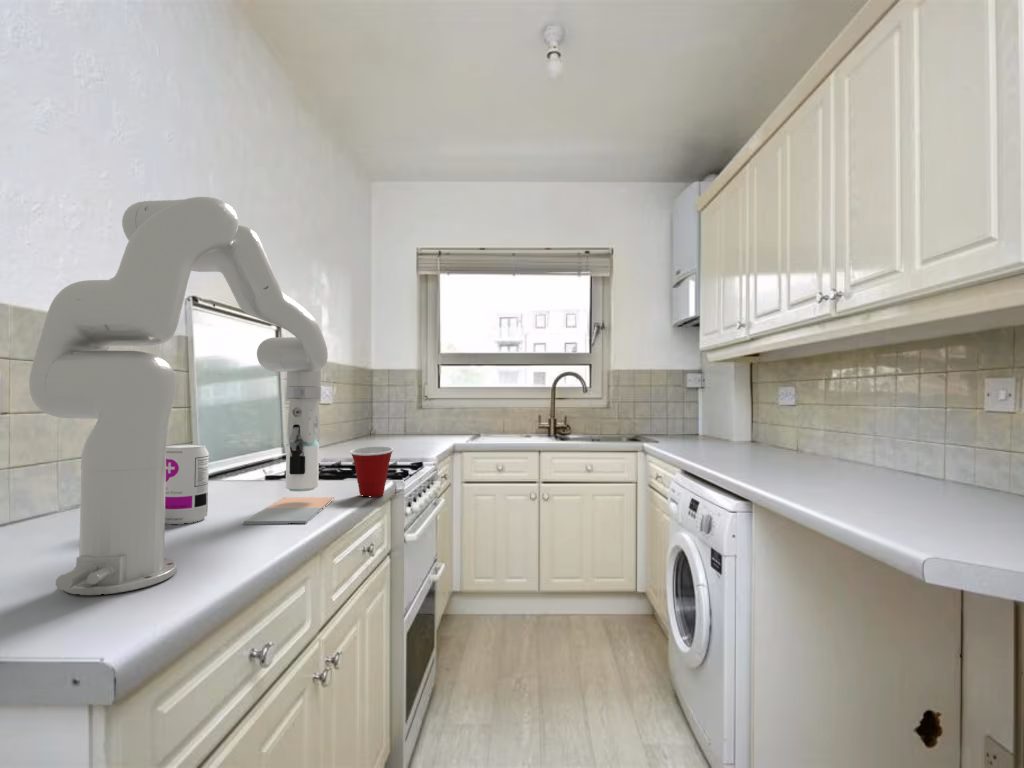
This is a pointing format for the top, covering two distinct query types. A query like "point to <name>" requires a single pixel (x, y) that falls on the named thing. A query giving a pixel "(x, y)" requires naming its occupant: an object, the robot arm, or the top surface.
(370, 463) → the plastic cup
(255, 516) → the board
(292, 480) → the can
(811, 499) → the top surface
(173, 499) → the supplement can
